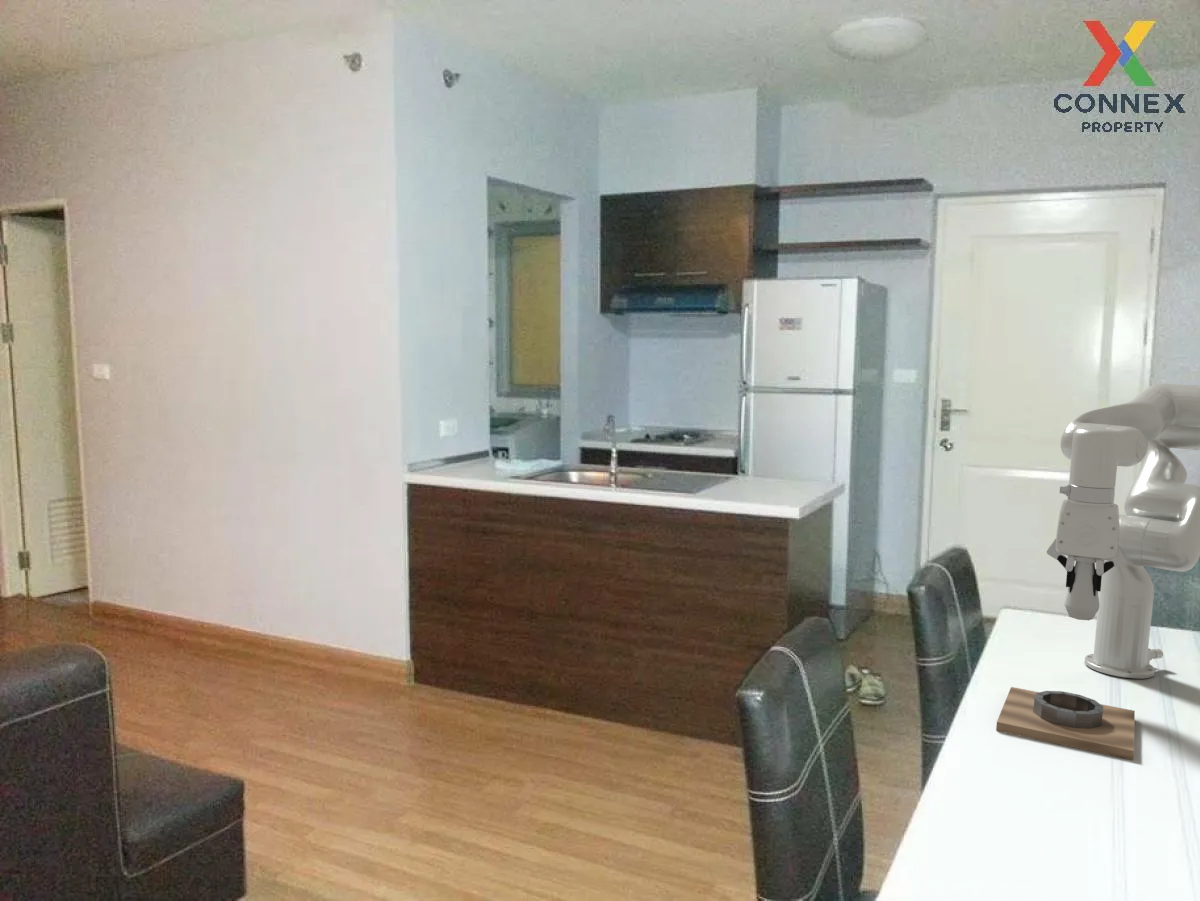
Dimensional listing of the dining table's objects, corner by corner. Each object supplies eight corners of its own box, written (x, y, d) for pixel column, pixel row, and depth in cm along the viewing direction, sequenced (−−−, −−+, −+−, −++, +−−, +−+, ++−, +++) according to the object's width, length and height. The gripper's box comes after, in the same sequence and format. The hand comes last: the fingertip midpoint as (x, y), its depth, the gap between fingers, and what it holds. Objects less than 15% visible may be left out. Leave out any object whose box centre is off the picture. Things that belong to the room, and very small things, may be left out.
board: (1010, 694, 173) (1011, 686, 173) (1133, 718, 164) (1134, 710, 163) (996, 730, 156) (996, 721, 156) (1133, 760, 146) (1133, 751, 146)
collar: (1036, 700, 167) (1038, 686, 167) (1102, 713, 162) (1104, 699, 161) (1031, 719, 158) (1032, 704, 158) (1100, 733, 153) (1101, 718, 152)
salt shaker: (1102, 623, 170) (1108, 553, 168) (1068, 620, 171) (1074, 551, 170) (1092, 613, 176) (1098, 546, 174) (1059, 611, 177) (1065, 544, 175)
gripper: (1040, 493, 172) (1032, 590, 174) (1142, 503, 163) (1133, 605, 166) (1043, 488, 178) (1036, 582, 180) (1142, 497, 170) (1133, 595, 172)
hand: (1082, 592), depth 173 cm, fingers closed on salt shaker, 3 cm apart
